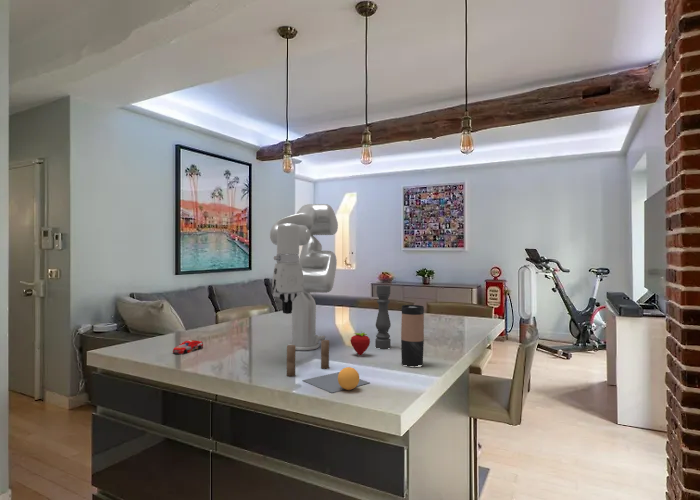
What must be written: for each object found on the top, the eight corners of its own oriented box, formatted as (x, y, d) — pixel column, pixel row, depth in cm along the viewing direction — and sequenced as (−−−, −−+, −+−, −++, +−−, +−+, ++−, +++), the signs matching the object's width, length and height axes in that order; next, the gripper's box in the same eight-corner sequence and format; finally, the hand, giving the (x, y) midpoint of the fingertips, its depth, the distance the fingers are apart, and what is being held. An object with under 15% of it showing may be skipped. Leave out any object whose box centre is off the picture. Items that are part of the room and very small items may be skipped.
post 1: (292, 373, 129) (292, 344, 129) (296, 375, 127) (297, 346, 127) (284, 375, 127) (285, 345, 128) (289, 376, 126) (289, 347, 126)
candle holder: (374, 346, 170) (374, 285, 171) (389, 346, 171) (389, 285, 171) (376, 349, 164) (377, 286, 165) (391, 349, 165) (392, 286, 165)
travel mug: (425, 363, 144) (425, 305, 144) (421, 368, 137) (422, 307, 137) (403, 361, 146) (403, 304, 147) (398, 366, 139) (399, 306, 139)
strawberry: (353, 352, 158) (353, 326, 158) (372, 354, 155) (372, 328, 156) (347, 356, 153) (348, 328, 153) (366, 358, 150) (367, 330, 150)
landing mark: (339, 372, 131) (339, 372, 131) (369, 383, 120) (369, 382, 120) (302, 380, 122) (302, 380, 122) (331, 393, 111) (331, 392, 111)
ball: (352, 388, 118) (347, 367, 120) (365, 386, 114) (361, 364, 115) (335, 392, 114) (331, 370, 116) (349, 390, 110) (344, 367, 111)
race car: (181, 356, 151) (181, 345, 151) (169, 355, 153) (169, 344, 153) (205, 348, 163) (205, 338, 163) (194, 347, 165) (194, 337, 165)
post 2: (325, 366, 138) (325, 339, 138) (330, 368, 136) (330, 340, 136) (319, 367, 136) (319, 340, 136) (324, 369, 134) (324, 341, 134)
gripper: (274, 259, 134) (273, 316, 134) (312, 259, 144) (311, 312, 144) (263, 259, 140) (262, 313, 140) (300, 259, 150) (299, 310, 149)
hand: (287, 313), depth 142 cm, fingers closed
